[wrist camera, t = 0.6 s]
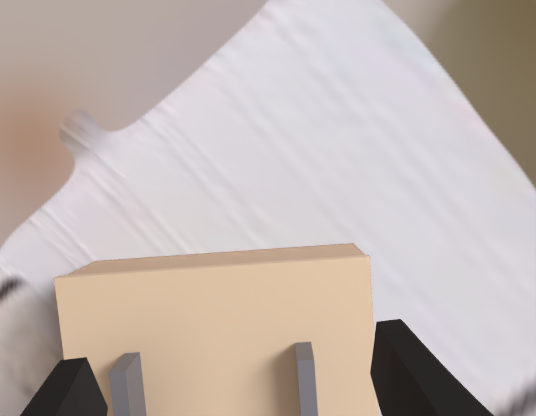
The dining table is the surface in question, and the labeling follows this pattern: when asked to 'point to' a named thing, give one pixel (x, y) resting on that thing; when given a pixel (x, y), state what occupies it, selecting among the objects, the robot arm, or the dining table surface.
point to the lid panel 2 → (295, 337)
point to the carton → (220, 258)
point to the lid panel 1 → (145, 338)
